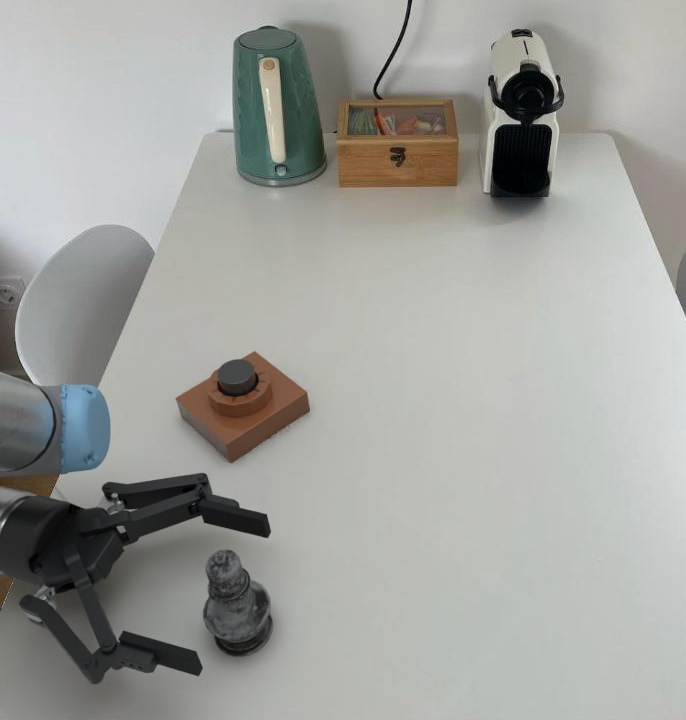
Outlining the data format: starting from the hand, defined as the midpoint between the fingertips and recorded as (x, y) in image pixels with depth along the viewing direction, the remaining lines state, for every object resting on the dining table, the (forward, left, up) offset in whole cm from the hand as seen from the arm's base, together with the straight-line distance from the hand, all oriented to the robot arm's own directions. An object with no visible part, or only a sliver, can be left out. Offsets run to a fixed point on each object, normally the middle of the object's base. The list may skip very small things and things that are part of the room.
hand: (235, 590), depth 69 cm
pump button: (+16, +22, -2) cm, 27 cm away
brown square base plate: (+16, +22, -6) cm, 28 cm away
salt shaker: (0, 0, -7) cm, 7 cm away
